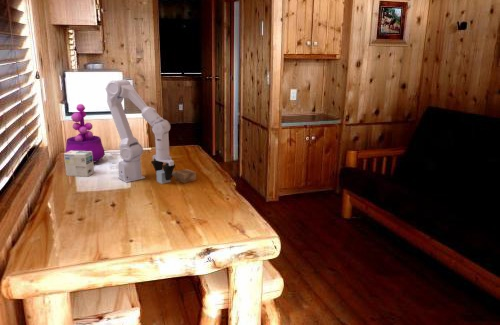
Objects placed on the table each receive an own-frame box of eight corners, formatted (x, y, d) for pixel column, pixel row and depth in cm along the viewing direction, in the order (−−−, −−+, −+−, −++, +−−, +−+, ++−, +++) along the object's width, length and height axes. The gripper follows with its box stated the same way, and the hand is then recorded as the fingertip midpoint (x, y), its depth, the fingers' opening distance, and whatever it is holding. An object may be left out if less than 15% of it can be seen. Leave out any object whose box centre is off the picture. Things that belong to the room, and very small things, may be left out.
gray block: (162, 184, 176) (161, 173, 175) (156, 181, 180) (156, 170, 178) (170, 182, 179) (170, 171, 178) (165, 179, 182) (165, 169, 181)
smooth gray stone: (176, 177, 186) (176, 175, 186) (169, 174, 190) (169, 172, 190) (187, 175, 190) (187, 172, 190) (180, 172, 194) (180, 170, 194)
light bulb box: (94, 172, 190) (92, 150, 187) (87, 177, 184) (85, 154, 181) (73, 171, 191) (70, 149, 188) (65, 176, 185) (63, 153, 182)
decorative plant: (91, 168, 197) (86, 107, 189) (58, 165, 200) (51, 105, 192) (112, 158, 215) (107, 102, 207) (80, 156, 218) (75, 101, 210)
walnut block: (184, 183, 178) (184, 174, 177) (175, 180, 182) (175, 171, 181) (195, 180, 183) (195, 171, 182) (187, 177, 187) (186, 168, 186)
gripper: (179, 149, 173) (180, 179, 176) (161, 143, 183) (163, 172, 187) (165, 152, 168) (166, 183, 172) (147, 146, 178) (149, 175, 182)
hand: (163, 177), depth 179 cm, fingers open, 7 cm apart
